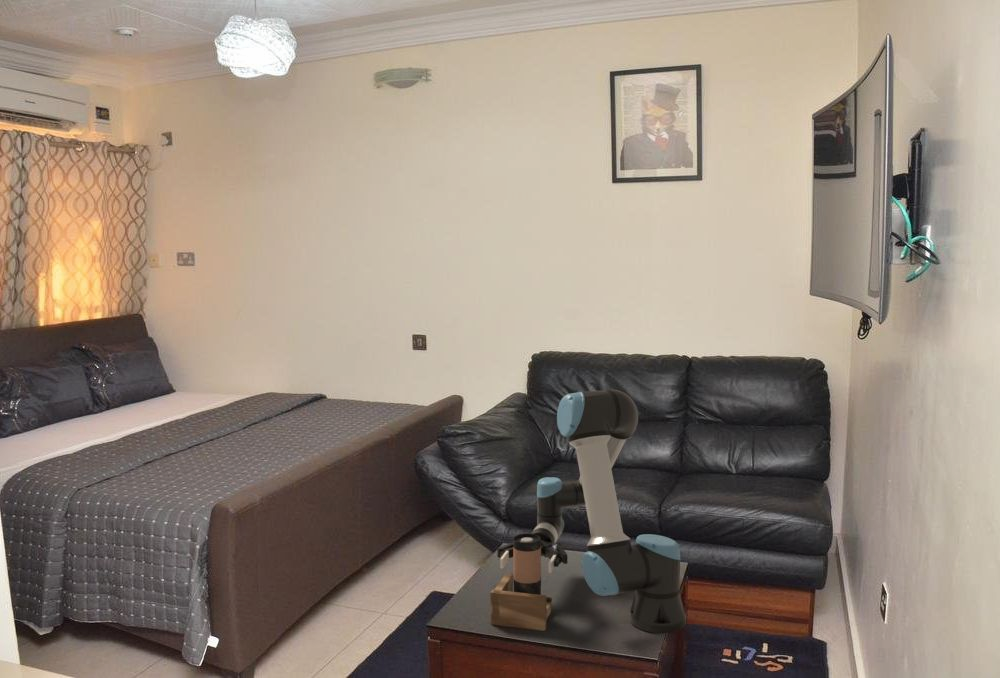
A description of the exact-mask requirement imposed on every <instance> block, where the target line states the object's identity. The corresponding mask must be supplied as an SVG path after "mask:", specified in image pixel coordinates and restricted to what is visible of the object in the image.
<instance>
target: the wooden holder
mask: <svg viewBox="0 0 1000 678" xmlns="http://www.w3.org/2000/svg"><path fill="white" fill-rule="evenodd" d="M489 593H490V594H489V595H490V596H489V597H490V598H489V599H490V603H489V604H490V625H492V626H493V625H494V626H501V627H509V628H518V629H524V630H525V629H527V630H534V631H542V632H543V631H544V632H545V631H546V629H547V620H548V618H549V616H550V614H551V613H552V601H553V597H549V596H548V597H547V595H546V594H545V595H544V594H541V595H538V594H529V593H519V592H514V581H513V573H508V572H507V573H505V574H504V575H503V577H502V578H501V580H500V581H499V583H498V584H497V585H496V586H495V588H494V589H492V590H491V591H490V592H489Z"/></svg>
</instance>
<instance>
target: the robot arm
mask: <svg viewBox="0 0 1000 678" xmlns="http://www.w3.org/2000/svg"><path fill="white" fill-rule="evenodd" d="M556 414H557V415H556V422H557V424H556V425H557V429H558V431H559V433H560V435H561V436H563V437H566V438H567V439H568V443H569V445H570V446H572V448H574V449H575V451H576V458H577V459H576V460H577V464H578V469H579V475H580V476H579V478H578V479H577V481H570V482H564V483H563V482H562V480H561V479H560V478H558V477H553V476H551V477H549V476H547V477H543V478H540V479H539V480H538V481H537V486H536V505H537V508H536V509H537V514H536V515H537V516H536V520H537V521H536V523H537V524H536V526H535V527H534V529H533V531H532V532H531V533H530V534H535V535H538V536H539V537H540V539H541V557H544V558H548V559H550V560H549V561H548V563H547V565H548V568H547V569H548V570H547V572H548V574H552V573H553V571H554V569H555V567H557V568H558V567H559V566H560V565H561V563H562V564H563V565H567V564H568V553H567V551H565V550H564V548H563V547H562V543H560V542H558V543H557V541H558V539H559V538H560V537H561V536H562V534H563V532H564V528H565V521H564V518H563V517H562V516H563V509H569V508H574V507H579V506H585V510H586V515H587V520H588V521H587V522H588V526H589V532H590V539H589V541H588V542H587V544H586V548H587V551H586V552H585V553H583V554H582V557H581V571H582V575H583V577H584V580H585V581H586V583H587V586H588V587H589V588H590V589H591V591H592V592H593V593H595V594H596V595H598V596H603V597H604V596H616V595H617V594H618V595H619V594H624V593H628V592H634V591H635V595H634V596H633V600H632V603H631V606H630V609H629V622H630V624H631V625H632V626H634V627H635V628H637V629H639V630H640V631H641V630H642V631H644V632H648V633H656V634H670V633H675V632H678V631H680V630H682V629H683V628H685V627H686V624H687V615H686V614H687V613H686V612H685V611H686V610H685V608H684V604H683V601H682V598H681V595H680V592H681V591H680V585H681V559H682V558H681V550H680V549H681V548H680V546H679V544H678V542H677V541H675V540H674V539H672V538H670V537H667V536H664V535H659V534H653V533H652V534H650V533H647V534H640V535H638V536H637V537H636V539H635V543H634V544H632V542H631V538H630V537H629V536H627V535H626V534H625V532H624V530H623V525H622V520H621V514H620V509H619V504H618V498H617V492H616V488H615V482H614V476H613V472H612V471H613V470H612V468H613V466H614V465H615V464H616V463H615V462H616V460H617V458H618V456H619V454H620V453H621V450H622V448H623V447H624V444H625V443H626V441H627V440H628V439H631V438H632V436H633V435H634V433H635V431H636V429H637V427H638V423H639V411H638V408H637V406H636V404H635V401H634V400H633V399H632V397H630V396H629V395H628V394H626V392H623V391H621V390H618V389H605V390H604V389H603V390H589V391H586V390H585V391H578V392H573V393H572V392H571V393H568V394H567V393H566V394H565V395H564V396H563V397H562V398H561V399H560V401H559V404H558V407H557V413H556ZM556 543H557V544H556ZM496 555H497V558H498V559H499V569H501V570H502V569H504V568H505V566H506V565H507V564H508V562H509V560H510V559H511V558H513V542H509V543H508V544H504V545H503V546H500V547H497V552H496Z"/></svg>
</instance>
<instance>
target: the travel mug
mask: <svg viewBox="0 0 1000 678" xmlns="http://www.w3.org/2000/svg"><path fill="white" fill-rule="evenodd" d="M512 540H513V557H512V558H513V561H512V562H513V565H512V567H513V568H512V570H513V573H512V574H513V592H519V593H529V594H538V595H542V594H541V593H542V556H541V539H540V537H539V536H538V535H535V534H531V533H519V534H516V535H514V537H513V539H512Z"/></svg>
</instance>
